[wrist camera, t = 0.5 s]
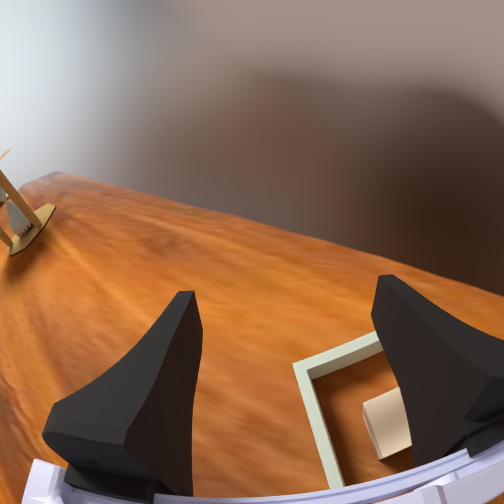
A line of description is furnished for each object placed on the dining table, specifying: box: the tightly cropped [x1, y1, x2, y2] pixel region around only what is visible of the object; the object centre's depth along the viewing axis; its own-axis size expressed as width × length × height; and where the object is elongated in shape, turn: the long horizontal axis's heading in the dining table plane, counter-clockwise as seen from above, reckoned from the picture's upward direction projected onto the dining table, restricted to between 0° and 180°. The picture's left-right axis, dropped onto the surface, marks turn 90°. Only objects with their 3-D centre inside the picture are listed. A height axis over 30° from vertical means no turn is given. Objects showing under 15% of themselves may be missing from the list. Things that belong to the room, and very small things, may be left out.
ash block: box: [363, 387, 412, 460], centre depth 19 cm, size 4×4×6 cm
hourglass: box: [0, 149, 55, 255], centre depth 70 cm, size 24×22×25 cm
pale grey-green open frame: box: [292, 331, 384, 489], centre depth 20 cm, size 17×13×3 cm
